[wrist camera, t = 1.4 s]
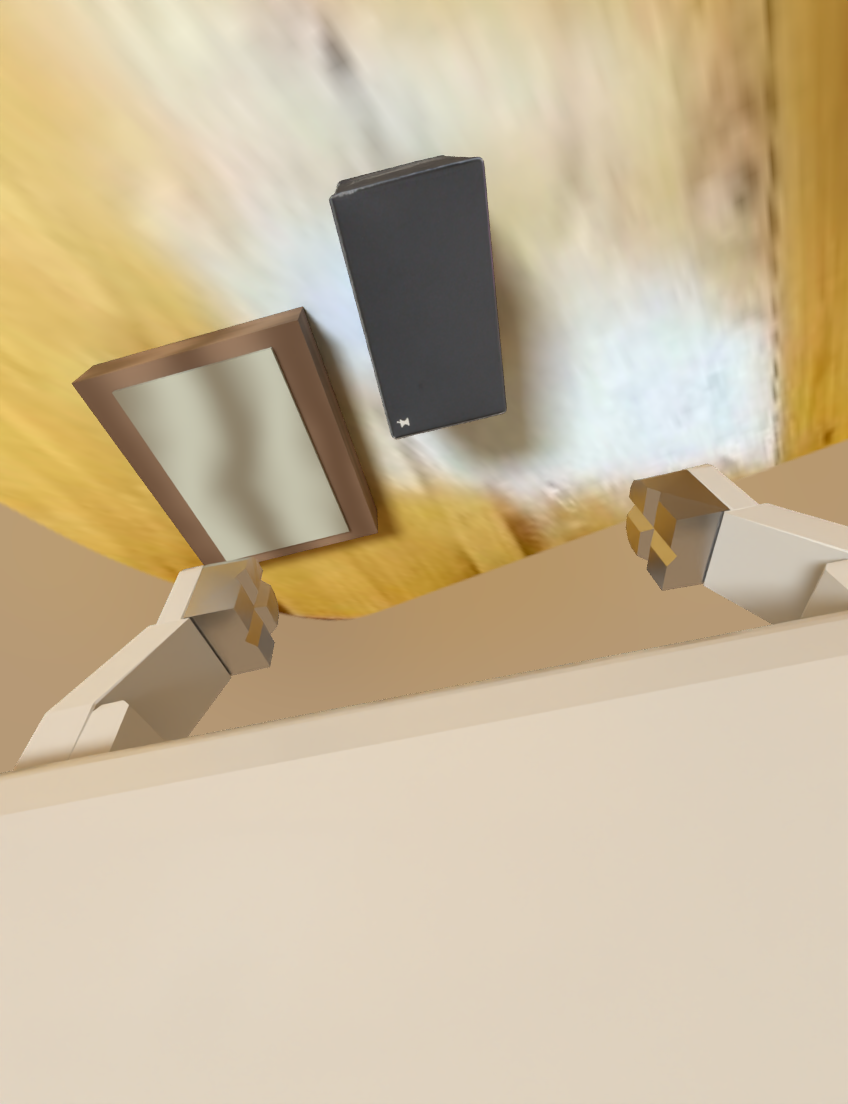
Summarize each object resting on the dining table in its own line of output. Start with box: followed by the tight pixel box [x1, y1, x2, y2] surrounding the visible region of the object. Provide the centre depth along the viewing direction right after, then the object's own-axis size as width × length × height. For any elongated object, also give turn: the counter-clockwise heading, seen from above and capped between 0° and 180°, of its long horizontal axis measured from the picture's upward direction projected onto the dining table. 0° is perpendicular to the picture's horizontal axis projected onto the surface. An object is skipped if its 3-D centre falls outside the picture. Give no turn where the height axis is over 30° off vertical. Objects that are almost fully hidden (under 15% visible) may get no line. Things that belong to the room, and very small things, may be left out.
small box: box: [329, 155, 507, 439], centre depth 25 cm, size 11×6×10 cm, turn 11°
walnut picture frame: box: [72, 307, 378, 565], centre depth 34 cm, size 14×16×3 cm
